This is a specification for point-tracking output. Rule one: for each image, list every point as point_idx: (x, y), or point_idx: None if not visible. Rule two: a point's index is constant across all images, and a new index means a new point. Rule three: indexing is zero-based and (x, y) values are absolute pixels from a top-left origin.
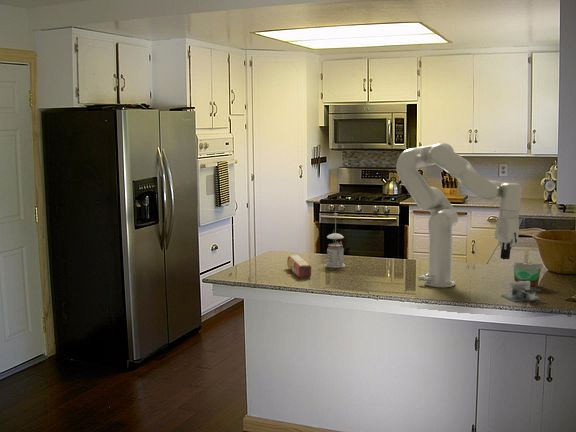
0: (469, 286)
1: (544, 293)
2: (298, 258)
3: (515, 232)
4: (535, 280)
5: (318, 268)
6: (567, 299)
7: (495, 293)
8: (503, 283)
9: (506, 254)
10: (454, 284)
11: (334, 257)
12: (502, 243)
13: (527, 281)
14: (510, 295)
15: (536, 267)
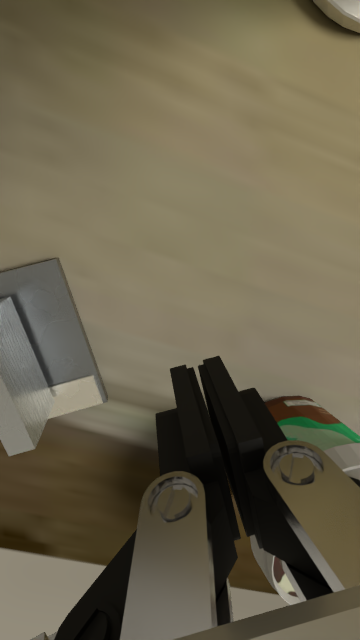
0: (296, 130)
1: (126, 477)
2: None
3: None
4: None
5: None
6: (20, 538)
7: (123, 242)
8: (326, 350)
9: (160, 445)
10: (330, 13)
11: None
12: (322, 558)
13: (12, 440)
14: (28, 303)
15: (259, 562)
